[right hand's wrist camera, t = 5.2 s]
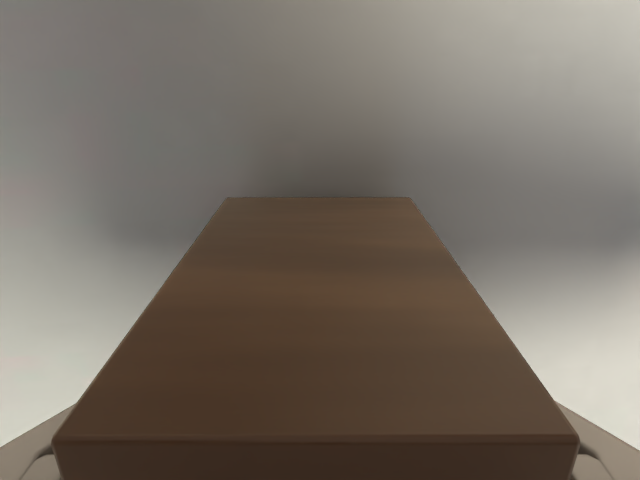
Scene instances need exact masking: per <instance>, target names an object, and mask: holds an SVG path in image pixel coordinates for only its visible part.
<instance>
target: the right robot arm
mask: <svg viewBox="0 0 640 480" xmlns="http://www.w3.org/2000/svg"><path fill="white" fill-rule="evenodd" d="M555 403H556V404H557V405H558V407H559V408H560V410H561V411H562V412H563V414H564V415H565V417H566V418H567V420H568V421H569V422H570V424H571V425H572V427H573V428H574V429H575V431H576V432H577V434H578V435H579V438H580V448H579V451H578V454H577V458H576V461H575V464H574V468H573V471H572V474H571V478H570V480H640V451H639V450H637V449H636V448H634V447H632V446H631V445H629V444H627V443H626V442H624V441H622V440H620V439H619V438H617V437H615V436H614V435H612V434H610V433H609V432H607V431H605V430H603V429H602V428H600V427H598V426H597V425H595V424H593V423H592V422H590V421H588V420H586V419H585V418H583V417H581V416H580V415H578V414H576V413H574V412H573V411H571V410H569V409H568V408H566V407H564V406H563V405H561V404H559V403H557V402H556V401H555ZM75 405H76V404H74V405H72V406H71V407H69V408H67V409H65V410H64V411H62V412H60V413H59V414H57V415H55V416H53V417H52V418H50V419H48V420H47V421H45V422H43V423H41V424H40V425H38V426H36V427H34V428H33V429H31V430H29V431H28V432H26V433H24V434H22V435H21V436H19V437H17V438H15V439H14V440H12V441H10V442H9V443H7V444H5V445H3V446H2V447H0V480H62V479H61V476H60V473H59V469H58V466H57V463H56V460H55V456H54V453H53V450H52V447H51V440H52V437H53V435H54V433H55V432H56V430H57V429H58V428H59V426H60V425H61V424H62V422H63V421H64V420H65V418H66V417H67V415H68V414H69V413H70V411H71V410H72V409H73V407H74V406H75Z"/></svg>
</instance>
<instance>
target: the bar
mask: <svg viewBox="0 0 640 480" xmlns="http://www.w3.org/2000/svg"><path fill="white" fill-rule="evenodd" d="M51 447H52V450H53V453H54V456H55V460H56V463H57V466H58V469H59V473H60V476H61V479H62V480H570V478H571V474H572V471H573V468H574V464H575V461H576V458H577V454H578V451H579V448H580V438H579V435H578V434H577V432H576V431H575V429H574V428H573V427H572V425H571V424H570V422H569V421H568V420H567V418H566V417H565V415H564V414H563V412H562V411H561V410H560V408H559V407H558V405H557V404H556V403H555V401H554V400H553V398H552V397H551V396H550V394H549V393H548V391H547V390H546V388H545V387H544V386H543V384H542V383H541V381H540V380H539V379H538V377H537V376H536V374H535V373H534V372H533V370H532V369H531V367H530V366H529V365H528V363H527V362H526V360H525V359H524V357H523V356H522V355H521V353H520V352H519V350H518V349H517V348H516V346H515V345H514V343H513V342H512V341H511V339H510V338H509V336H508V335H507V334H506V332H505V331H504V329H503V328H502V326H501V325H500V324H499V322H498V321H497V319H496V318H495V317H494V315H493V314H492V312H491V311H490V310H489V308H488V307H487V305H486V304H485V302H484V301H483V300H482V298H481V297H480V295H479V294H478V293H477V291H476V290H475V288H474V287H473V286H472V284H471V283H470V281H469V280H468V279H467V277H466V276H465V274H464V273H463V271H462V270H461V269H460V267H459V266H458V264H457V263H456V262H455V260H454V259H453V257H452V256H451V255H450V253H449V252H448V250H447V249H446V248H445V246H444V245H443V243H442V242H441V240H440V239H439V238H438V236H437V235H436V233H435V232H434V231H433V229H432V228H431V226H430V225H429V224H428V222H427V221H426V219H425V218H424V216H423V215H422V214H421V212H420V211H419V209H418V208H417V207H416V205H415V204H414V202H413V201H412V200H411V198H409V197H316V198H226V199H225V201H224V202H223V203H222V205H221V206H220V208H219V209H218V210H217V212H216V213H215V214H214V216H213V217H212V218H211V220H210V221H209V223H208V224H207V225H206V227H205V228H204V229H203V231H202V232H201V234H200V235H199V236H198V238H197V239H196V240H195V242H194V243H193V244H192V246H191V247H190V249H189V250H188V251H187V253H186V254H185V255H184V257H183V258H182V260H181V261H180V262H179V264H178V265H177V266H176V268H175V269H174V270H173V272H172V273H171V275H170V276H169V277H168V279H167V280H166V281H165V283H164V284H163V286H162V287H161V288H160V290H159V291H158V292H157V294H156V295H155V296H154V298H153V299H152V301H151V302H150V303H149V305H148V306H147V307H146V309H145V310H144V312H143V313H142V314H141V316H140V317H139V318H138V320H137V321H136V322H135V324H134V325H133V327H132V328H131V329H130V331H129V332H128V333H127V335H126V336H125V337H124V339H123V340H122V342H121V343H120V344H119V346H118V347H117V348H116V350H115V351H114V353H113V354H112V355H111V357H110V358H109V359H108V361H107V362H106V363H105V365H104V366H103V368H102V369H101V370H100V372H99V373H98V374H97V376H96V377H95V379H94V380H93V381H92V383H91V384H90V385H89V387H88V388H87V389H86V391H85V392H84V394H83V395H82V396H81V398H80V399H79V400H78V402H77V403H76V405H75V406H74V407H73V409H72V410H71V411H70V413H69V414H68V415H67V417H66V418H65V420H64V421H63V422H62V424H61V425H60V426H59V428H58V429H57V430H56V432H55V433H54V435H53V437H52V440H51Z"/></svg>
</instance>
